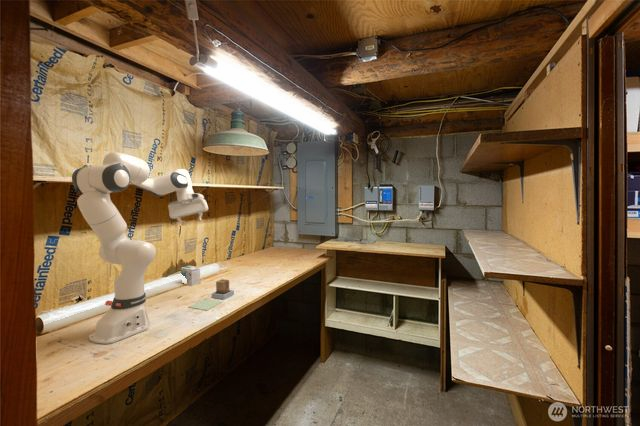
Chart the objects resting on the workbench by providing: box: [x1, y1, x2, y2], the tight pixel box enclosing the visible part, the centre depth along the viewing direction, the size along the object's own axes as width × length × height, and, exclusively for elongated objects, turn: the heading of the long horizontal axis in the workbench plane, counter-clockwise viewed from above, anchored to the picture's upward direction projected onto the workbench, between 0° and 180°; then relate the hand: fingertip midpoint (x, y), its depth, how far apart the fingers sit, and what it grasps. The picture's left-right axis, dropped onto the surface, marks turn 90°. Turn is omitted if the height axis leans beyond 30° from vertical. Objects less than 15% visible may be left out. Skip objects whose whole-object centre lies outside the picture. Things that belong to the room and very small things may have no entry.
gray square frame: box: [211, 289, 235, 301], centre depth 173 cm, size 9×9×2 cm
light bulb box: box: [180, 265, 201, 287], centre depth 196 cm, size 11×7×11 cm, turn 62°
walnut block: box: [215, 278, 230, 295], centre depth 172 cm, size 5×5×9 cm
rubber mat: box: [188, 298, 223, 312], centre depth 160 cm, size 12×12×1 cm
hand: (191, 222), depth 165 cm, fingers open, 8 cm apart
